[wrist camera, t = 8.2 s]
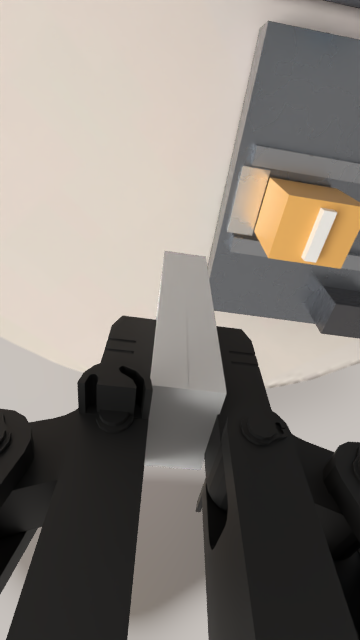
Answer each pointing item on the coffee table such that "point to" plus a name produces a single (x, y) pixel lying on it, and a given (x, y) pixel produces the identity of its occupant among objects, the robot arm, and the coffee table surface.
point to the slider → (307, 223)
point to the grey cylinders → (347, 2)
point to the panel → (291, 177)
